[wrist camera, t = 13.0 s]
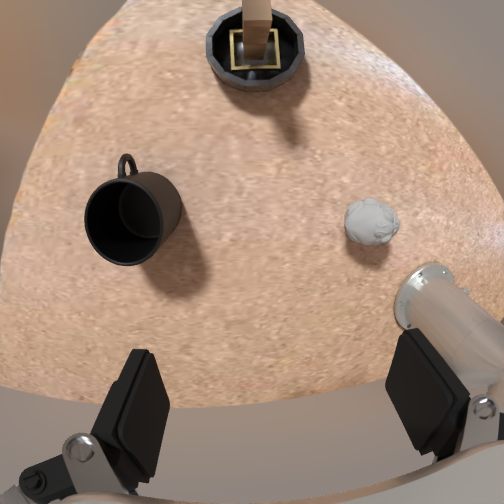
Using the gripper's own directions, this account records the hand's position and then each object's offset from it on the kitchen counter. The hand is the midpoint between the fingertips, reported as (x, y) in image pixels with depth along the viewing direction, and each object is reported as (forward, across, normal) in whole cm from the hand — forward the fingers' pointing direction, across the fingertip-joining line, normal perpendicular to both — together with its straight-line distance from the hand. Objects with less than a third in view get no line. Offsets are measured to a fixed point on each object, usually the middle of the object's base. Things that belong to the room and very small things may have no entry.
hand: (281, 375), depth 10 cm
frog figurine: (+28, -14, +1) cm, 32 cm away
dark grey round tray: (+28, -1, -21) cm, 35 cm away
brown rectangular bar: (+28, -1, -21) cm, 35 cm away
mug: (+28, +14, -3) cm, 32 cm away
